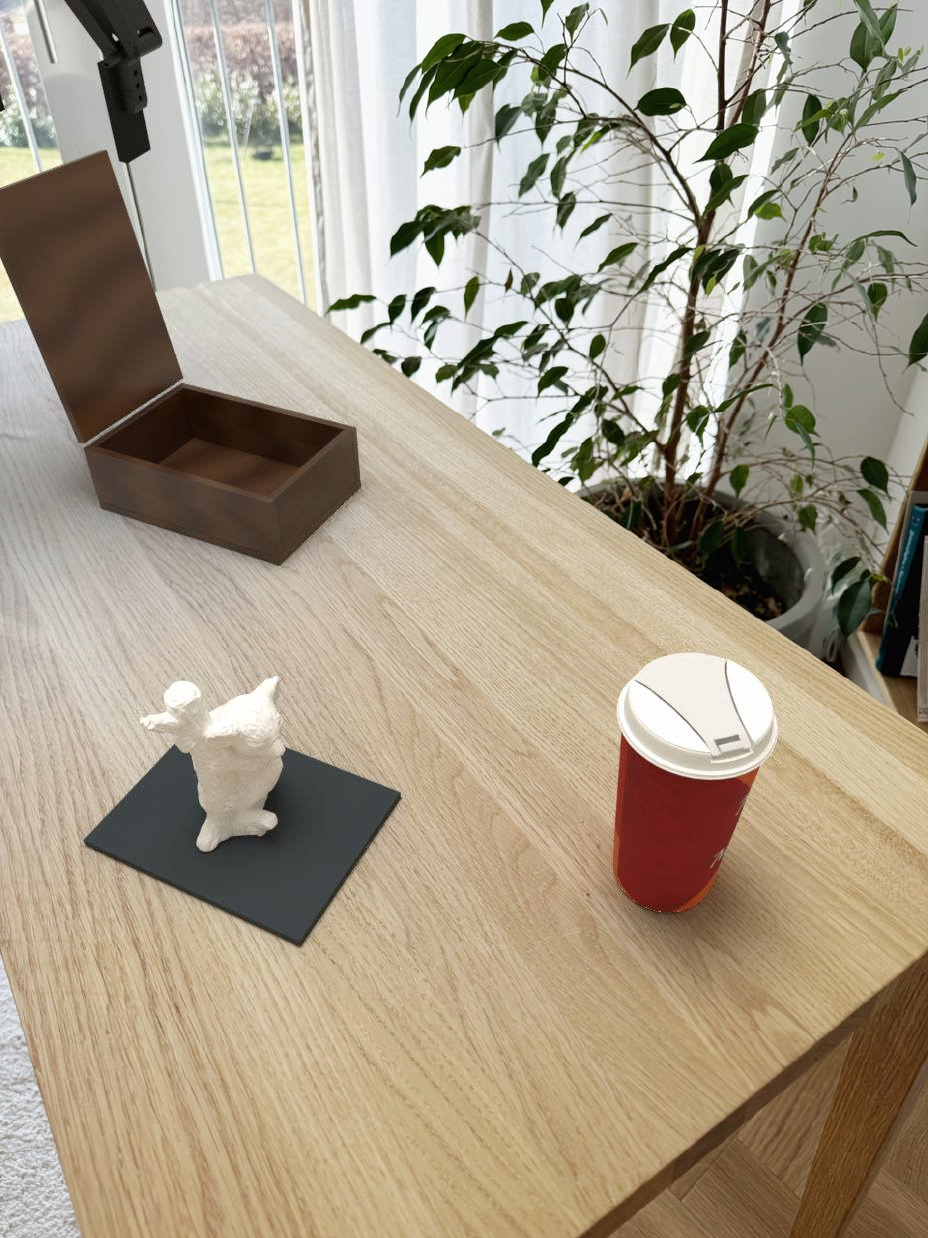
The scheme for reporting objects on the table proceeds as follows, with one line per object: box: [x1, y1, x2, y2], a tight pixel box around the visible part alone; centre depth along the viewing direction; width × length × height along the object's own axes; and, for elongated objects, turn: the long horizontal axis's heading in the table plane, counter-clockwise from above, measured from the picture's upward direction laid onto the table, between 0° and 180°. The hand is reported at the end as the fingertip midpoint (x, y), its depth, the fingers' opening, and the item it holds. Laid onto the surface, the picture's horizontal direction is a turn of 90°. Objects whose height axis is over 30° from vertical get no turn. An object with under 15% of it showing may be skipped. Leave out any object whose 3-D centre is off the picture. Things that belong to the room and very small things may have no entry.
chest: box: [82, 382, 362, 566], centre depth 88 cm, size 20×14×6 cm
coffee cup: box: [612, 651, 779, 913], centre depth 54 cm, size 8×8×15 cm
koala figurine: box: [139, 675, 286, 852], centre depth 58 cm, size 8×7×12 cm
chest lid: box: [0, 149, 184, 444], centre depth 83 cm, size 20×14×1 cm
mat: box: [82, 743, 402, 946], centre depth 62 cm, size 16×12×1 cm
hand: (60, 135), depth 72 cm, fingers open, 13 cm apart
